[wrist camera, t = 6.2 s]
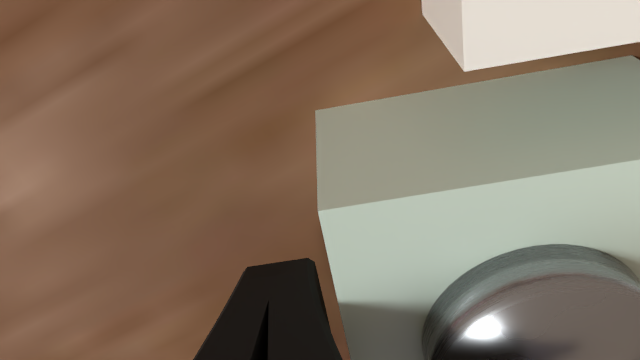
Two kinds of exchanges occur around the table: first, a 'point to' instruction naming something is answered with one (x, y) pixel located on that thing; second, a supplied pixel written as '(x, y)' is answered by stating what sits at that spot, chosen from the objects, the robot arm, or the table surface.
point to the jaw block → (488, 217)
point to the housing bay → (529, 28)
